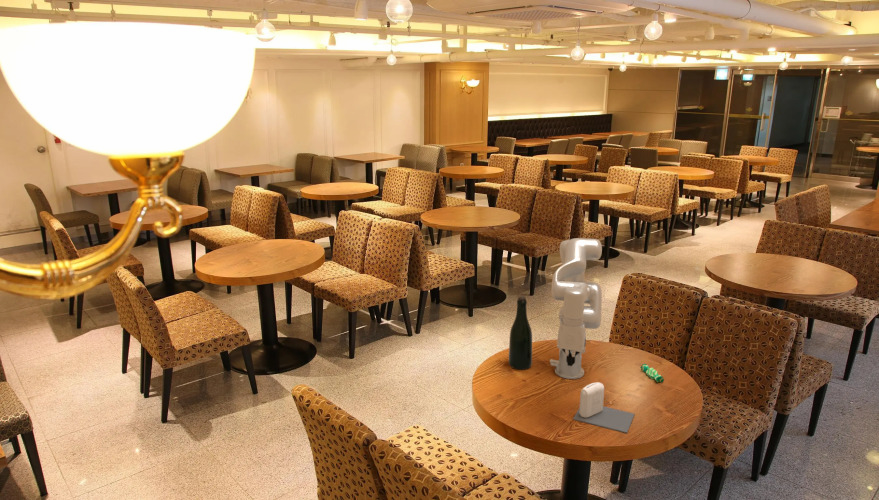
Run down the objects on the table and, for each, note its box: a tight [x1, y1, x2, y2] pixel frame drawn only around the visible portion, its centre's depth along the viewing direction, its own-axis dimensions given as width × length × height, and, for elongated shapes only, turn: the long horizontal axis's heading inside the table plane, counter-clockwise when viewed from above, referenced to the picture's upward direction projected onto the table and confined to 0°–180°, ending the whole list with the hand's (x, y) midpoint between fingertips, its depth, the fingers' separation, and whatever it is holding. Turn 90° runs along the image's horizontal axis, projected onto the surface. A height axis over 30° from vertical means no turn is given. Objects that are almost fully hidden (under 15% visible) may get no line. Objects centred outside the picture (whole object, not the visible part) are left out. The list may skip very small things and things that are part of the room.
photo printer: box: [579, 381, 605, 418], centre depth 226 cm, size 10×4×12 cm, turn 123°
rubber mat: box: [572, 405, 635, 434], centre depth 225 cm, size 20×14×1 cm
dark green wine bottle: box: [508, 295, 533, 370], centre depth 263 cm, size 10×10×33 cm
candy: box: [640, 363, 665, 384], centre depth 255 cm, size 12×3×4 cm
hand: (570, 364), depth 226 cm, fingers closed
